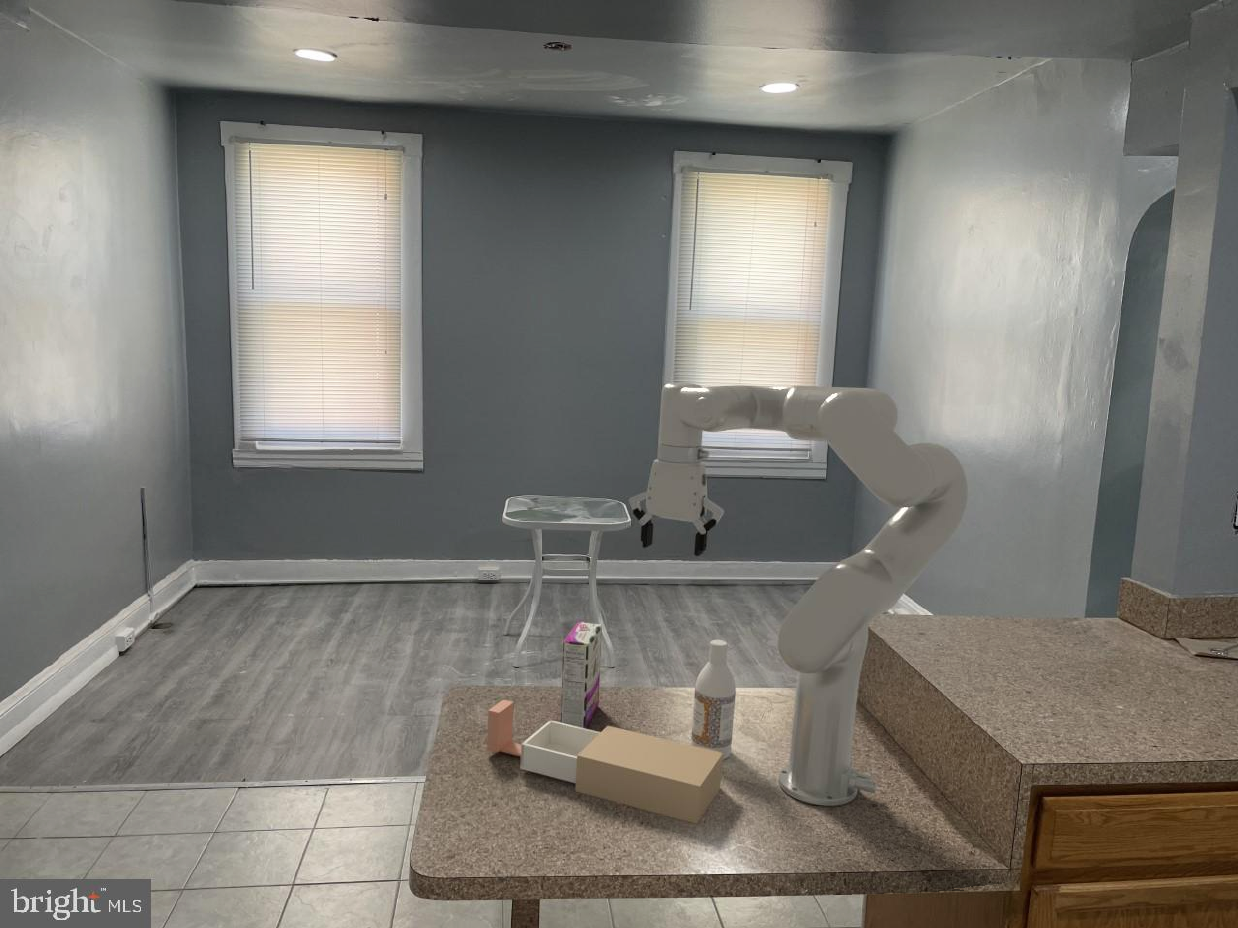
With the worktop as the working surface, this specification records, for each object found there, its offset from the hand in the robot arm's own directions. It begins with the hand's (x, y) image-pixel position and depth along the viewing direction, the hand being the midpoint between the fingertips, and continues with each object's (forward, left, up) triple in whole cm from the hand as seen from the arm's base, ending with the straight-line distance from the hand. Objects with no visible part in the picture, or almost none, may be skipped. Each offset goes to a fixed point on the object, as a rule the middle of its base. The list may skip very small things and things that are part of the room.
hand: (672, 550), depth 164 cm
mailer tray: (+8, +22, -33) cm, 40 cm away
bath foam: (-11, +5, -34) cm, 36 cm away
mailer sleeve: (-6, +22, -33) cm, 40 cm away
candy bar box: (+15, +3, -34) cm, 37 cm away
